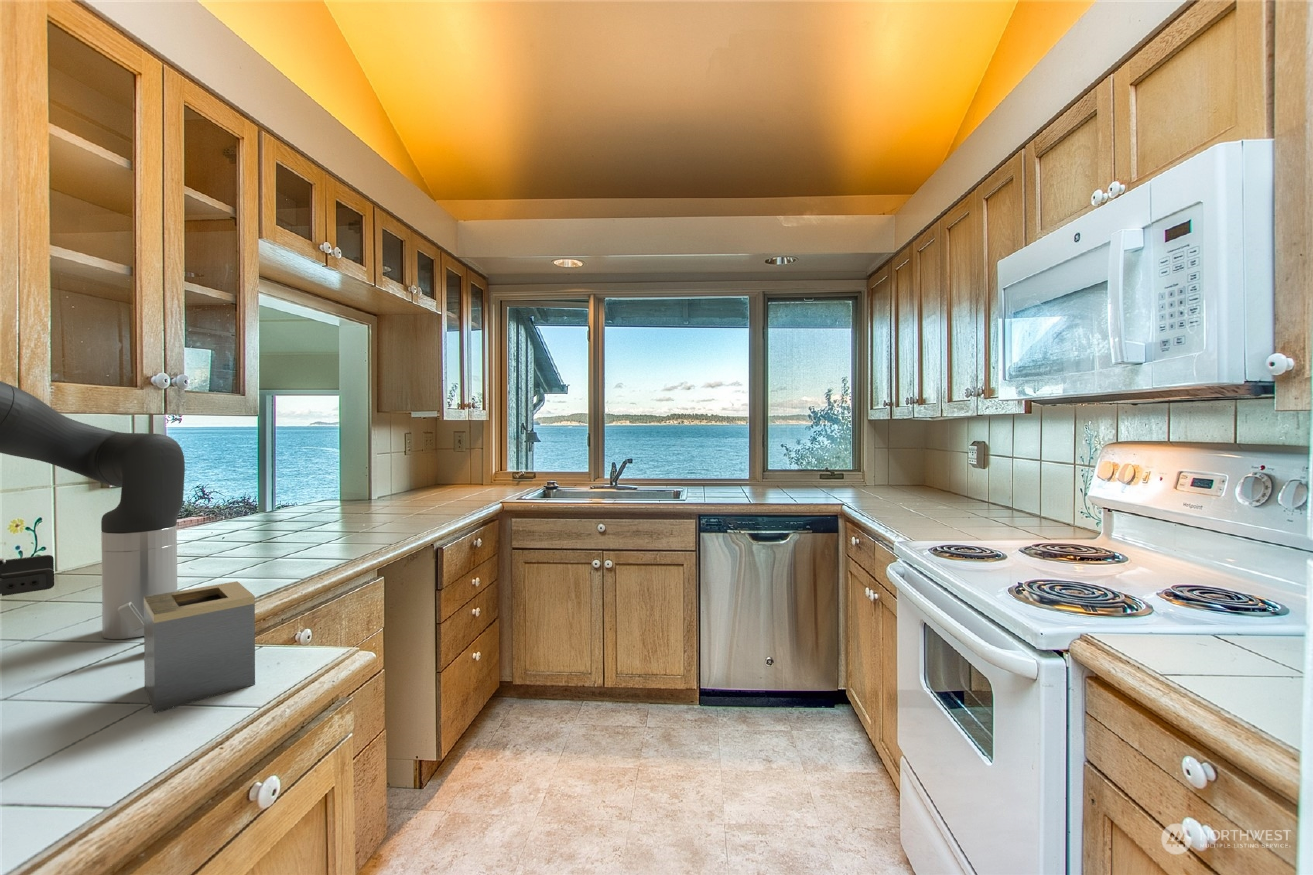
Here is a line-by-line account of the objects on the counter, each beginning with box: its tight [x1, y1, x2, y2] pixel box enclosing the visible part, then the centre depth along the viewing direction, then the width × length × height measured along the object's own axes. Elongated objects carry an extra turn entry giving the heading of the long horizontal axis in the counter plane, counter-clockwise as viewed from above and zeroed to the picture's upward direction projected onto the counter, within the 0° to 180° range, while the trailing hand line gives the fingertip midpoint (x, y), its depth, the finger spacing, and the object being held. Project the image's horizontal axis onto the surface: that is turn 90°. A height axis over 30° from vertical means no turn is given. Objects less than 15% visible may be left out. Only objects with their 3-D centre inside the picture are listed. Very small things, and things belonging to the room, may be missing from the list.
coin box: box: [143, 581, 256, 714], centre depth 73 cm, size 10×10×12 cm
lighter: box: [118, 602, 144, 632], centre depth 83 cm, size 7×2×8 cm, turn 127°
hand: (53, 570), depth 63 cm, fingers open, 8 cm apart
